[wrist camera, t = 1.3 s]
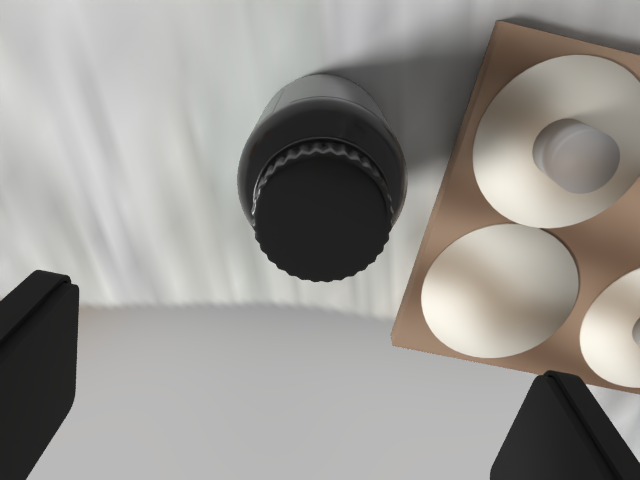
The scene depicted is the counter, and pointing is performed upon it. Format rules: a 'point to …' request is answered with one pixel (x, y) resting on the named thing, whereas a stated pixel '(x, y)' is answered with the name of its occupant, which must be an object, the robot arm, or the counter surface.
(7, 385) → the robot arm
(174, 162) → the counter surface
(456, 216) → the board
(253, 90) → the counter surface
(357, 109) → the supplement bottle
